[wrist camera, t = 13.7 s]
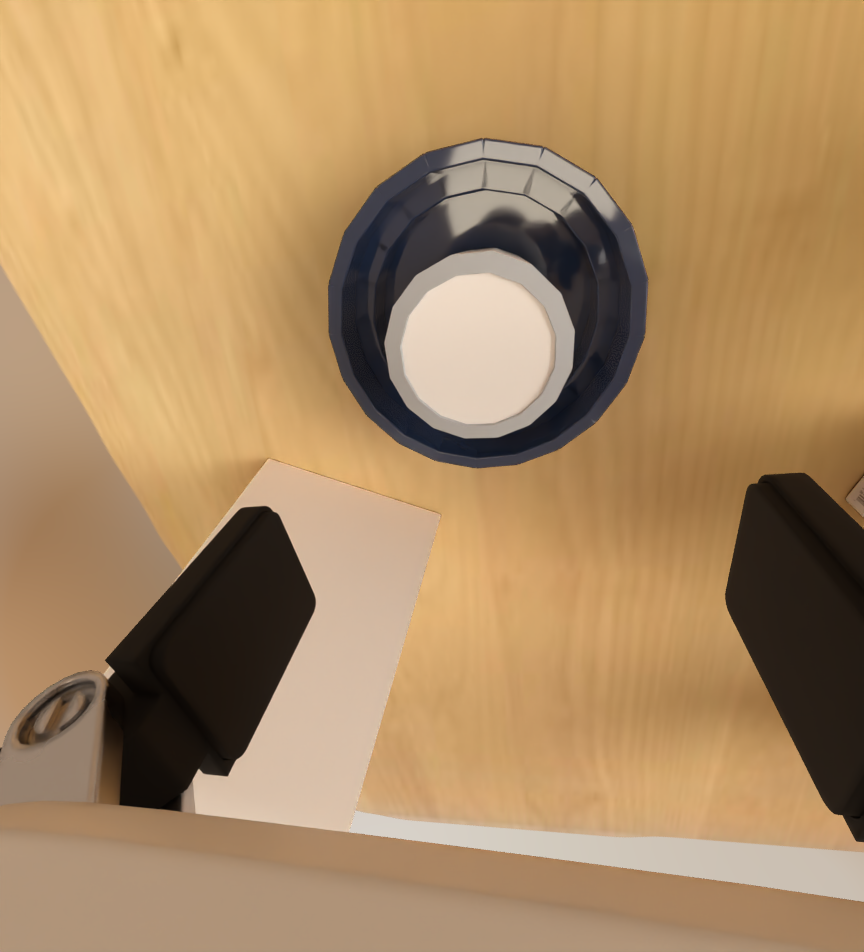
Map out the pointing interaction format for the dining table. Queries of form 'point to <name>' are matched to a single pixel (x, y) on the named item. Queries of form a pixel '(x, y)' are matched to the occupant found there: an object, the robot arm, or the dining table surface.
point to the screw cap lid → (507, 228)
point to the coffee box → (857, 497)
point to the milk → (327, 650)
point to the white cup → (480, 344)
